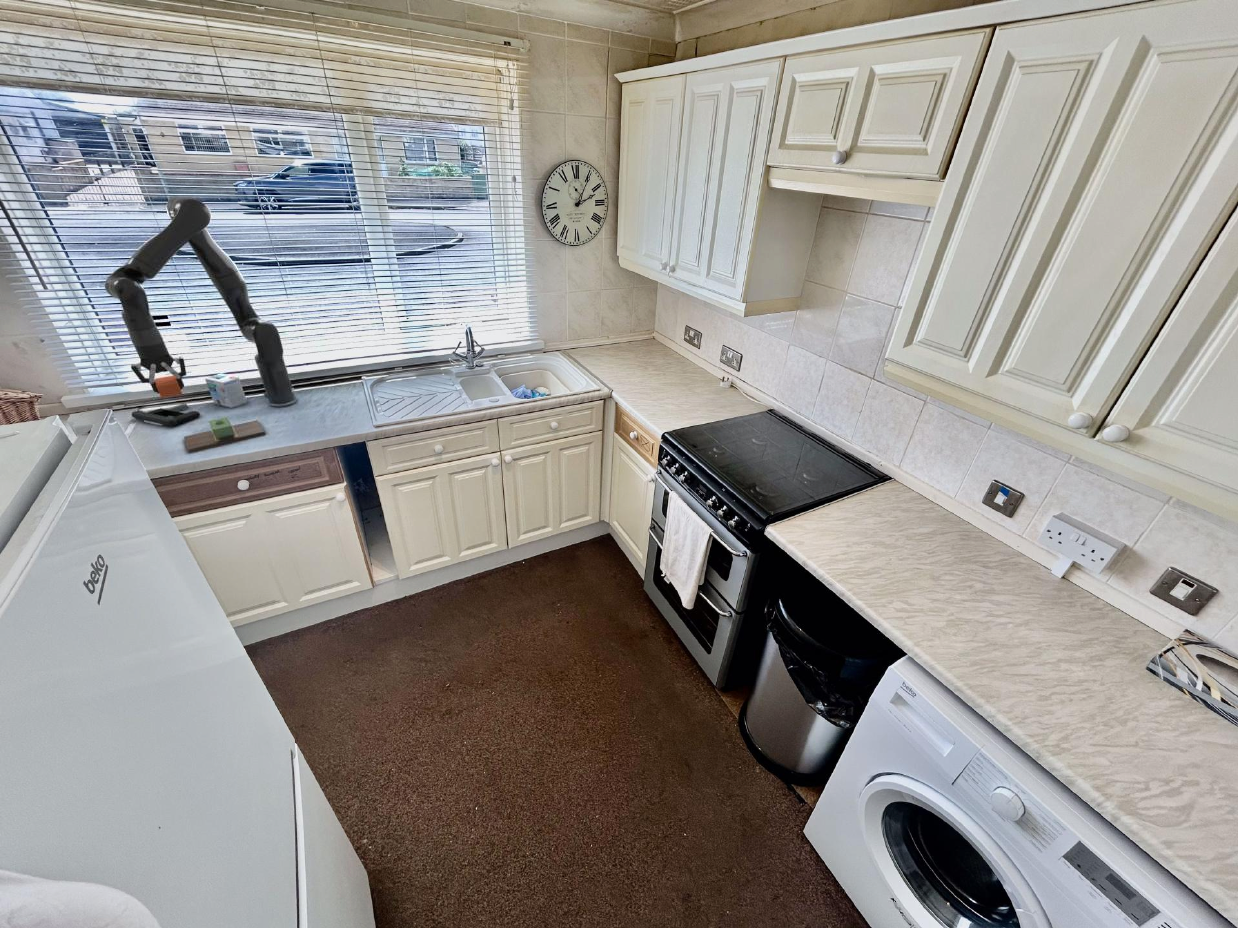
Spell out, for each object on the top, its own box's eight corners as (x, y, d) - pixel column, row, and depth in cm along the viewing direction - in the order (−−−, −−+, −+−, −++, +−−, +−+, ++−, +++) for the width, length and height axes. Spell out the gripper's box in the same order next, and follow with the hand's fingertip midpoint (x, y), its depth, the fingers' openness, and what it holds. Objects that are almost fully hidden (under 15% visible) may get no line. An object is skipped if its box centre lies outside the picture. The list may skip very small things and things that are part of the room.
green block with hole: (212, 431, 184) (207, 418, 181) (231, 427, 187) (226, 414, 184) (216, 440, 178) (211, 427, 175) (235, 435, 181) (230, 423, 178)
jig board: (185, 439, 180) (182, 433, 179) (258, 423, 193) (256, 417, 192) (189, 452, 173) (186, 446, 172) (265, 434, 185) (263, 428, 184)
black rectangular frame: (171, 399, 204) (126, 413, 190) (210, 407, 199) (166, 421, 185) (174, 407, 205) (129, 421, 191) (212, 415, 200) (169, 430, 186)
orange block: (159, 389, 177) (154, 378, 175) (179, 386, 180) (174, 375, 178) (161, 398, 171) (156, 386, 169) (182, 394, 174) (177, 383, 172)
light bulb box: (213, 403, 207) (203, 378, 202) (230, 397, 212) (220, 372, 207) (232, 408, 204) (222, 382, 198) (248, 402, 209) (239, 376, 204)
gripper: (175, 335, 173) (195, 382, 181) (118, 342, 165) (142, 392, 173) (177, 340, 168) (197, 389, 177) (119, 348, 160) (143, 399, 168)
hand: (170, 390), depth 175 cm, fingers closed on orange block, 5 cm apart
